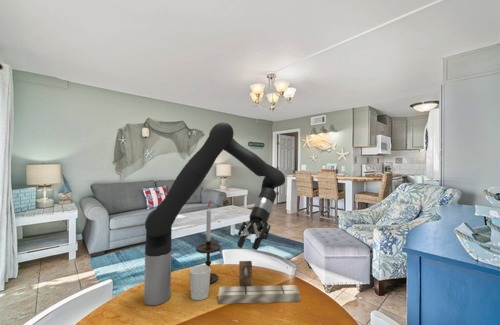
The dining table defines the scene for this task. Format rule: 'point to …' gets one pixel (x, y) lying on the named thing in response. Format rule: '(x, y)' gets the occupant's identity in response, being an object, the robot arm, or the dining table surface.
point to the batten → (258, 294)
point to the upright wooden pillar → (245, 273)
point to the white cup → (199, 282)
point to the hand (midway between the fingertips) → (246, 248)
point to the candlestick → (209, 246)
